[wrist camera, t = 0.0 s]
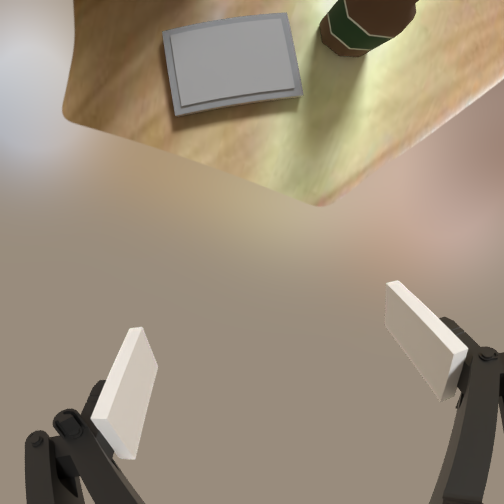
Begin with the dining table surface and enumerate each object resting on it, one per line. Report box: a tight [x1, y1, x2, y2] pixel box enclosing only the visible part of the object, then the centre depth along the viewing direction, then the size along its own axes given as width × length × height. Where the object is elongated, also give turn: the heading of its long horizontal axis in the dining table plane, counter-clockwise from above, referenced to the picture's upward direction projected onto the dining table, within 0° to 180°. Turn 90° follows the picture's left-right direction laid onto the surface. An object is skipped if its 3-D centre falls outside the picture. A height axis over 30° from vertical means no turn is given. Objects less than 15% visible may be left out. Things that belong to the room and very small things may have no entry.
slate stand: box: [162, 13, 303, 117], centre depth 35 cm, size 12×16×2 cm
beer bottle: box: [320, 0, 419, 57], centre depth 24 cm, size 8×8×24 cm
